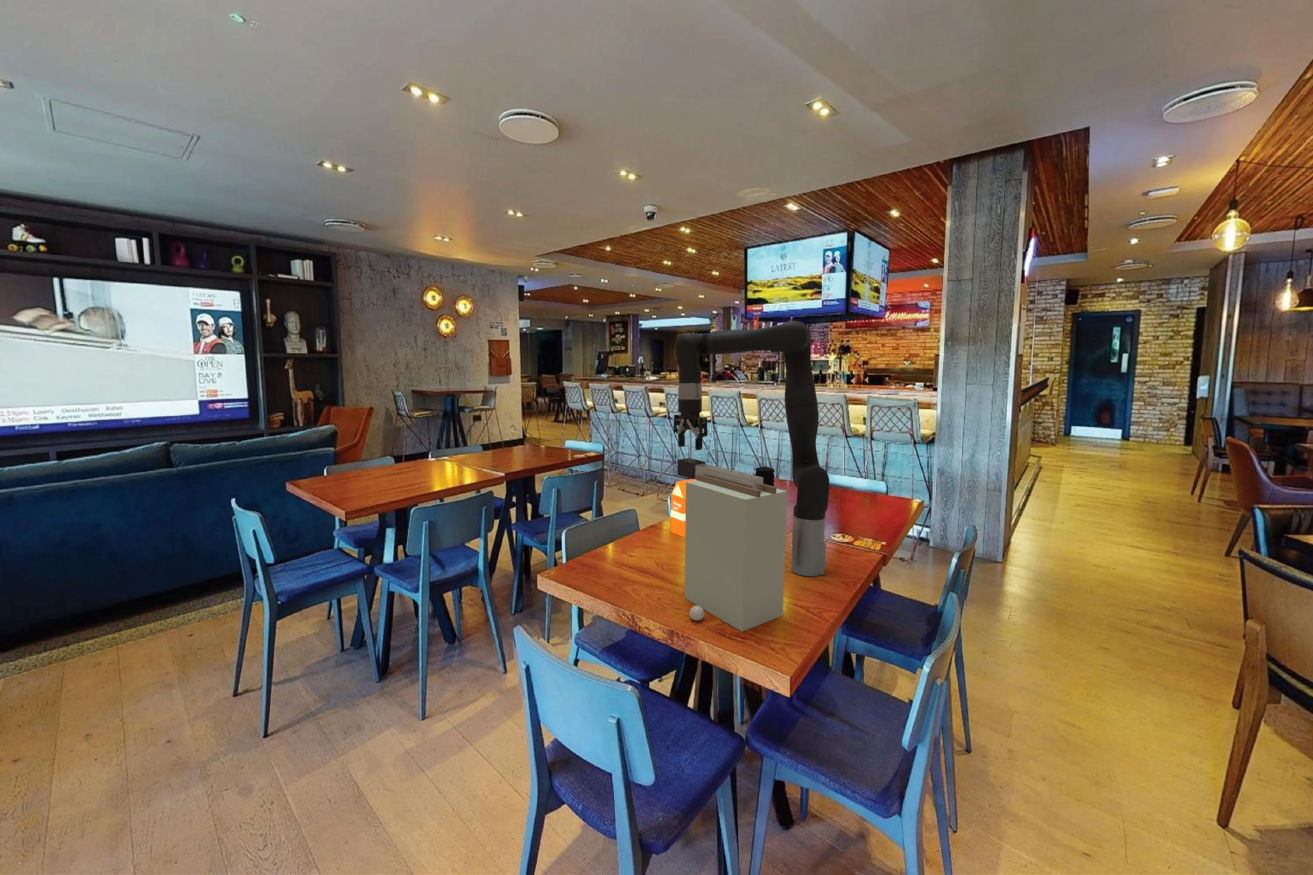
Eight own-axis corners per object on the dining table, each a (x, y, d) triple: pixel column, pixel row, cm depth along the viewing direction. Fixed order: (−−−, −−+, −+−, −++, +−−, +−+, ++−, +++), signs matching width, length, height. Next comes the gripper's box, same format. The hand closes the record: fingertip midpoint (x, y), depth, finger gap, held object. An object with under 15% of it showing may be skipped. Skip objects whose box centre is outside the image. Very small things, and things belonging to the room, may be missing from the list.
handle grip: (748, 541, 187) (777, 543, 185) (750, 468, 183) (779, 469, 181) (749, 532, 197) (776, 534, 195) (751, 463, 193) (778, 464, 191)
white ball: (703, 616, 131) (704, 603, 131) (703, 623, 128) (704, 609, 127) (689, 615, 131) (690, 602, 131) (689, 622, 128) (689, 609, 128)
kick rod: (677, 474, 148) (677, 459, 148) (689, 473, 151) (689, 457, 150) (751, 495, 125) (751, 477, 124) (764, 493, 127) (764, 475, 126)
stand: (683, 596, 142) (684, 475, 138) (722, 584, 150) (724, 469, 145) (742, 631, 124) (745, 493, 119) (782, 615, 132) (787, 485, 127)
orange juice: (701, 532, 196) (702, 480, 194) (683, 537, 191) (683, 483, 189) (689, 527, 203) (689, 476, 200) (670, 531, 198) (670, 479, 195)
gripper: (667, 397, 169) (667, 446, 172) (695, 399, 158) (695, 452, 160) (685, 396, 174) (685, 444, 176) (714, 398, 162) (713, 449, 164)
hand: (690, 448), depth 168 cm, fingers open, 8 cm apart
